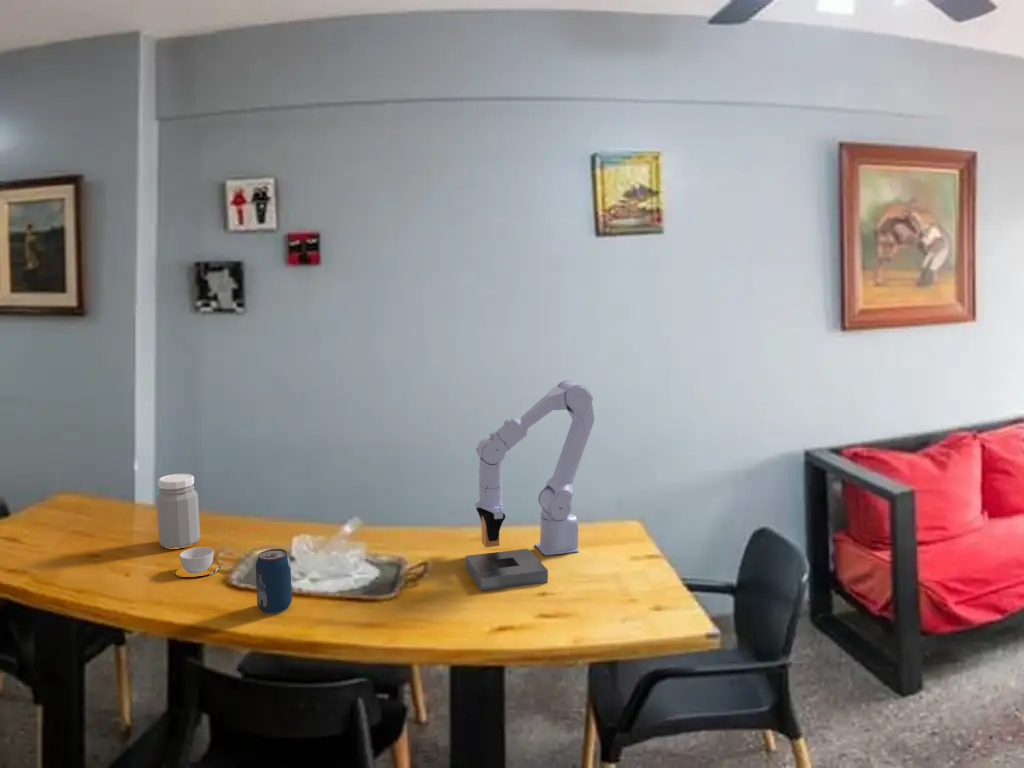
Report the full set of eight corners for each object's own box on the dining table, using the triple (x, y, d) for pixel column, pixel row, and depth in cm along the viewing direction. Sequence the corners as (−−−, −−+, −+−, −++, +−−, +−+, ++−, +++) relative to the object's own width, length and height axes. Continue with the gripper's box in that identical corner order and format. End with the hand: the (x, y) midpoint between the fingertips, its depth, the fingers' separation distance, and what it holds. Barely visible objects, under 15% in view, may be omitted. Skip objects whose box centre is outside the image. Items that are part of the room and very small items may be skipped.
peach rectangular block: (495, 540, 182) (495, 514, 181) (499, 545, 178) (499, 519, 177) (481, 542, 180) (481, 516, 179) (485, 547, 177) (485, 520, 176)
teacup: (203, 581, 163) (202, 562, 162) (165, 577, 165) (164, 558, 164) (229, 565, 172) (228, 546, 172) (192, 561, 174) (191, 543, 174)
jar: (159, 540, 188) (155, 474, 185) (200, 535, 192) (196, 471, 189) (158, 553, 179) (154, 484, 177) (200, 547, 183) (197, 480, 181)
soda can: (295, 600, 153) (293, 547, 151) (286, 615, 146) (284, 560, 145) (263, 600, 153) (261, 547, 151) (253, 615, 146) (250, 560, 144)
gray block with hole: (527, 560, 176) (527, 548, 176) (547, 582, 163) (547, 570, 163) (465, 567, 172) (465, 555, 171) (481, 591, 158) (481, 578, 158)
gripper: (467, 479, 183) (468, 529, 185) (483, 495, 169) (483, 549, 171) (494, 477, 185) (494, 527, 187) (511, 492, 171) (510, 546, 173)
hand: (490, 537), depth 179 cm, fingers closed on peach rectangular block, 4 cm apart
